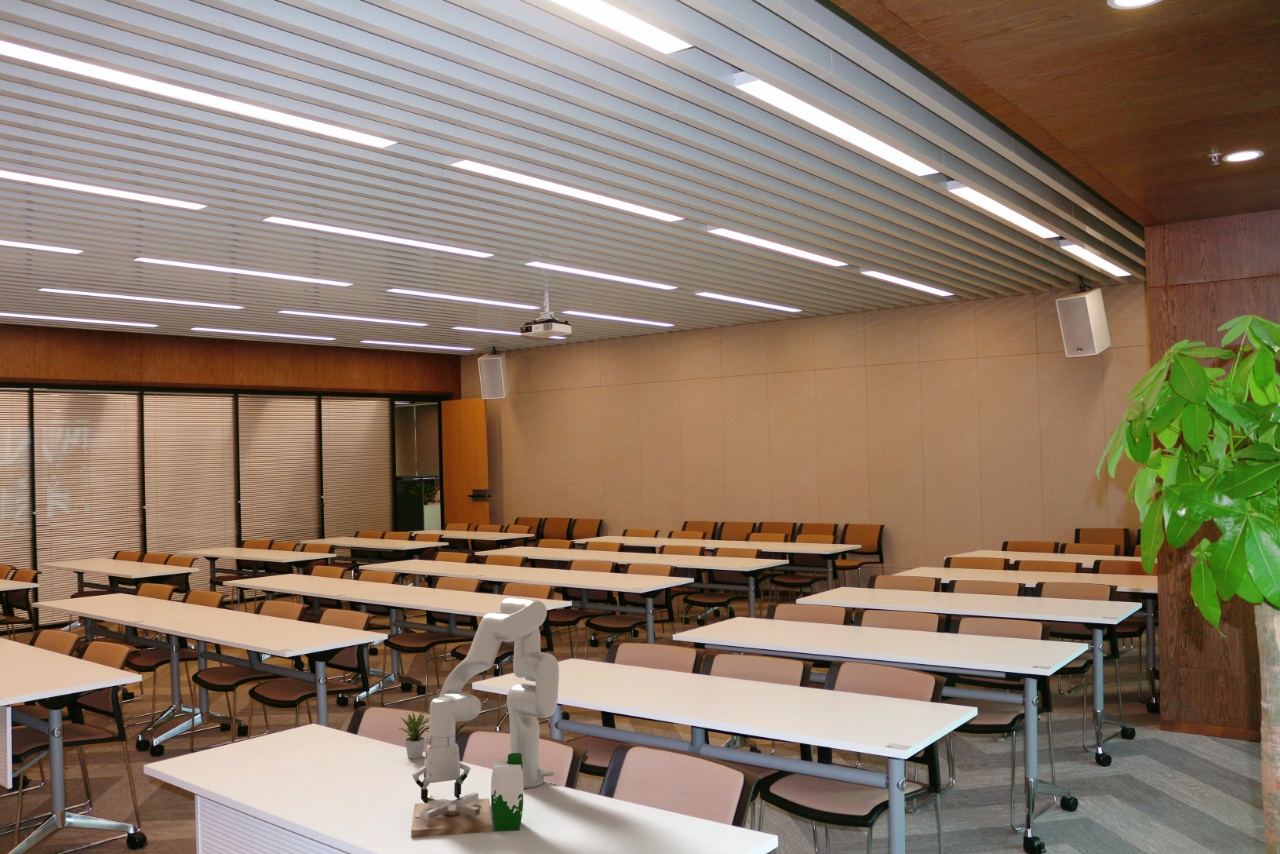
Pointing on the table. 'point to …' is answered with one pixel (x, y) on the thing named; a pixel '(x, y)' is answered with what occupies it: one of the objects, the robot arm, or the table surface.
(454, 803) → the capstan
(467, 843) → the table surface
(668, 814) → the table surface
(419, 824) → the stand plate
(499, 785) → the milk carton
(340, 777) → the table surface
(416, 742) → the house plant
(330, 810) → the table surface
